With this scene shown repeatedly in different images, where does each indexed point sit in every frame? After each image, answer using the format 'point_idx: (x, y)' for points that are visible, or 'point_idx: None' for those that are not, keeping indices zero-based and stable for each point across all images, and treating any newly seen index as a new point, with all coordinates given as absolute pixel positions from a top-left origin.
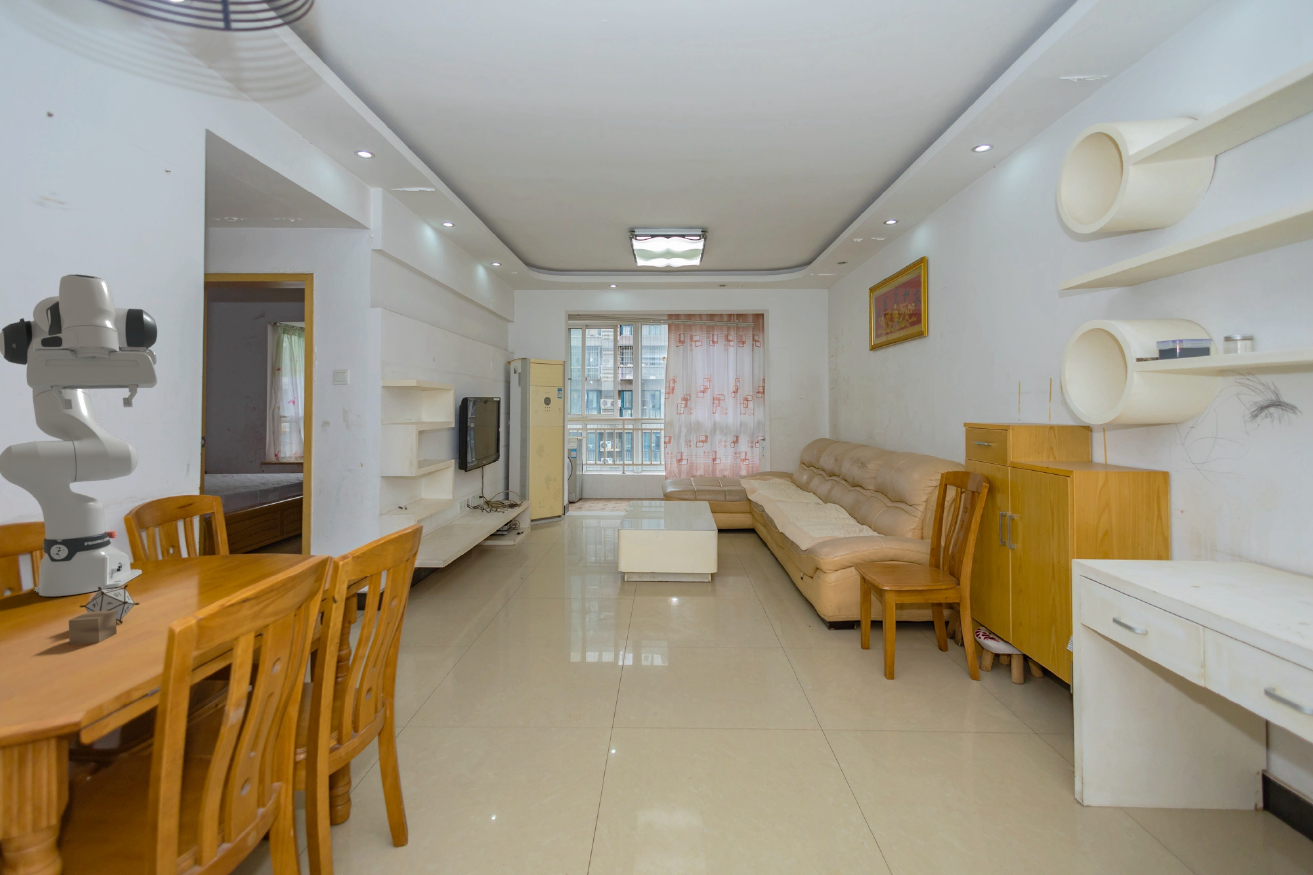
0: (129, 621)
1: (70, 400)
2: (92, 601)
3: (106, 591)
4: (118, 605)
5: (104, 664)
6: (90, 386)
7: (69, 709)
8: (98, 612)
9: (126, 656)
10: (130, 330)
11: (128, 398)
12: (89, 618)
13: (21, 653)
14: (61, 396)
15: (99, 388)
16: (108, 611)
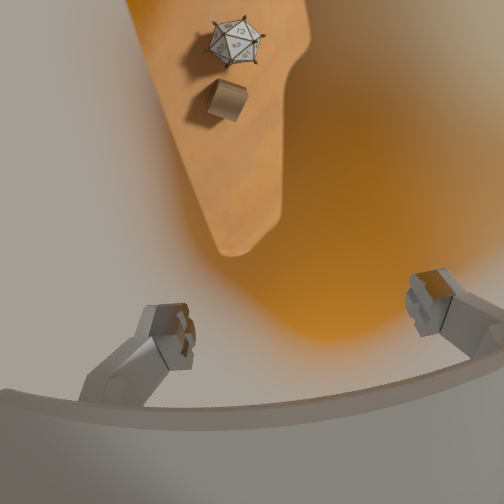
0: None
1: (189, 362)
2: (218, 54)
3: (233, 50)
4: (246, 61)
5: (248, 177)
6: (294, 424)
7: (241, 243)
8: (231, 95)
9: (262, 166)
10: None
11: (439, 328)
12: (226, 116)
13: (170, 107)
14: (152, 385)
15: (353, 395)
16: (241, 96)
